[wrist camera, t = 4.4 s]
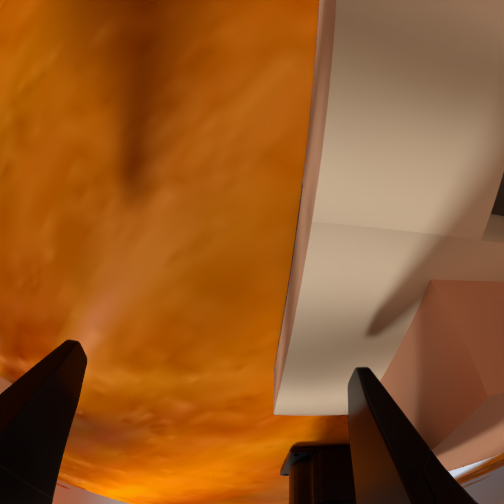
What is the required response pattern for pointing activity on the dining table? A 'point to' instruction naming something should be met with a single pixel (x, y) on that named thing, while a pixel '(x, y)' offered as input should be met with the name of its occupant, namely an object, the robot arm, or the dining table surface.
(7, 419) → the robot arm
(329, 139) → the trap board
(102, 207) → the dining table surface
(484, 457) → the terracotta block
